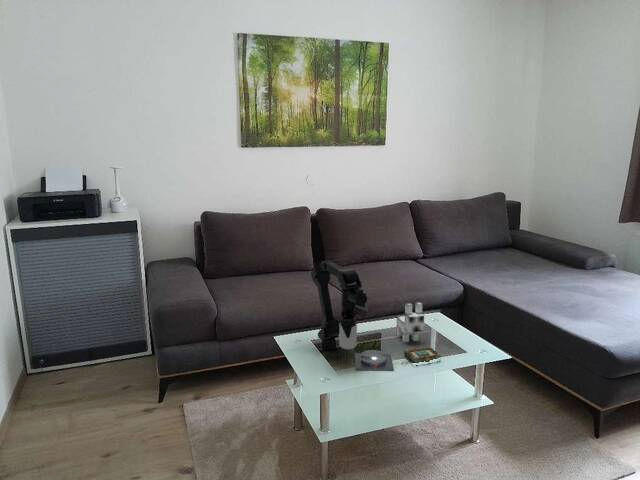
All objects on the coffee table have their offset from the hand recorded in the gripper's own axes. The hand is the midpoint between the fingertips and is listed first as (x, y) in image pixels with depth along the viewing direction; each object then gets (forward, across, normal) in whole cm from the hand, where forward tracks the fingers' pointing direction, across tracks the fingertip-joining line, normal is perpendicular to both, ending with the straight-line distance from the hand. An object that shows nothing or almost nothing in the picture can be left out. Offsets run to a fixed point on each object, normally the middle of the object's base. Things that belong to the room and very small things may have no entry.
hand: (348, 334), depth 209 cm
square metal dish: (+13, 0, -11) cm, 17 cm away
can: (+6, 0, 0) cm, 6 cm away
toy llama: (+13, +27, -29) cm, 42 cm away
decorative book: (+14, +3, -31) cm, 34 cm away
